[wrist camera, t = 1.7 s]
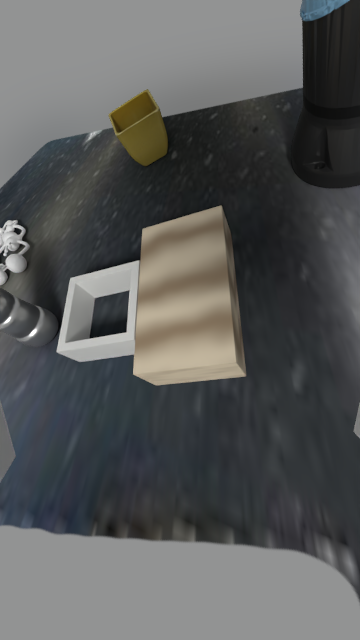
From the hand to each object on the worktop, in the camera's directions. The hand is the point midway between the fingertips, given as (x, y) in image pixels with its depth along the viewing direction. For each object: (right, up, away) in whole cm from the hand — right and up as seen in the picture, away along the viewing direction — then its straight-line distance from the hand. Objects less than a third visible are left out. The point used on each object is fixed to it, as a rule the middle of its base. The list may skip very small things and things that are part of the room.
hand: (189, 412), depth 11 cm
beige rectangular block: (+2, +6, +31) cm, 31 cm away
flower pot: (-6, +38, +50) cm, 62 cm away
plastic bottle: (-23, +1, +40) cm, 46 cm away
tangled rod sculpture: (-39, +17, +55) cm, 69 cm away
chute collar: (-10, +3, +35) cm, 37 cm away
